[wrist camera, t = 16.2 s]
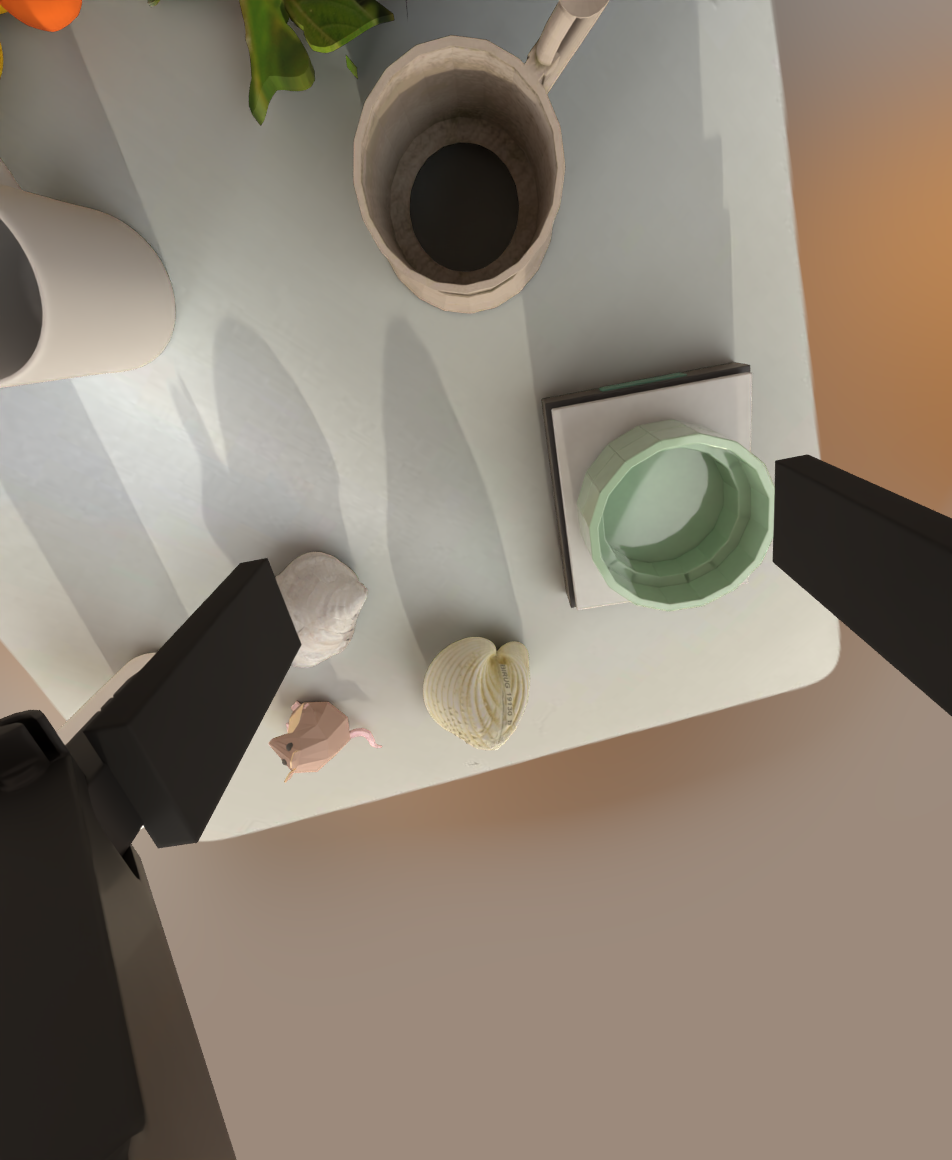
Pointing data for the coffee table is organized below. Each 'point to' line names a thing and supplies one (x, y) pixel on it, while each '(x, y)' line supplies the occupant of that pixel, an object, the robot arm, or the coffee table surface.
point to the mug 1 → (75, 291)
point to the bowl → (676, 514)
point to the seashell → (478, 690)
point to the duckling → (41, 14)
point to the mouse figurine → (315, 737)
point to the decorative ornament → (278, 58)
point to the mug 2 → (472, 115)
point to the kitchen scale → (609, 413)
